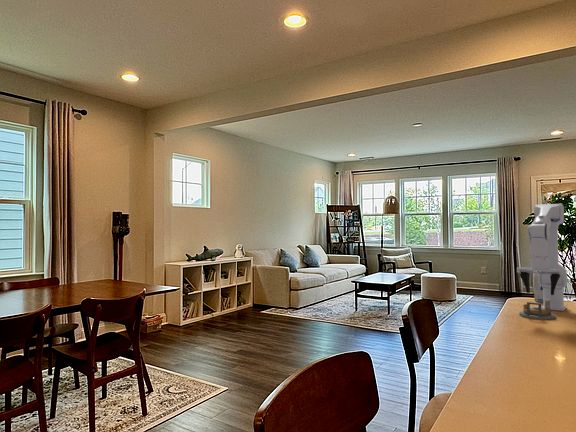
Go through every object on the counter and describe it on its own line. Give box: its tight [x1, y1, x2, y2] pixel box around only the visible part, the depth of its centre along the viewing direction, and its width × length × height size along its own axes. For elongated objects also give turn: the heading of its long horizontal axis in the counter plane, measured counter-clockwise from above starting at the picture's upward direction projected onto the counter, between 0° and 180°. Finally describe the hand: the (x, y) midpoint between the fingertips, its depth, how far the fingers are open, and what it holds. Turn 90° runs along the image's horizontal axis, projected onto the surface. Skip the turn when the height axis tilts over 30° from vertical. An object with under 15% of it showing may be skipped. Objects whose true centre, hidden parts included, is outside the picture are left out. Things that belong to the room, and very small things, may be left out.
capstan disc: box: [522, 300, 552, 315], centre depth 158 cm, size 9×9×5 cm
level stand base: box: [518, 301, 557, 321], centre depth 158 cm, size 12×12×6 cm
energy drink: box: [533, 274, 543, 303], centre depth 188 cm, size 5×5×12 cm
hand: (540, 293), depth 150 cm, fingers open, 7 cm apart
